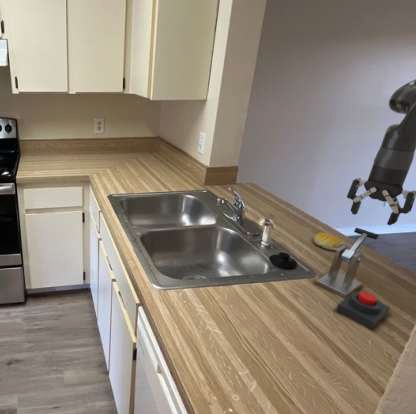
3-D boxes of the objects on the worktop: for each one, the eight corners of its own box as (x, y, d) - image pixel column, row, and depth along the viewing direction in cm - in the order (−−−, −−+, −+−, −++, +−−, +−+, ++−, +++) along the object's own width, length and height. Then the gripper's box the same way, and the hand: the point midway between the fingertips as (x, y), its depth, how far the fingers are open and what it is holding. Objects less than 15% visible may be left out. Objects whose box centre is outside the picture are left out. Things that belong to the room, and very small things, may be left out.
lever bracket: (331, 272, 104) (342, 240, 99) (360, 285, 98) (373, 251, 93) (315, 283, 99) (326, 249, 94) (345, 298, 93) (358, 262, 88)
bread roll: (322, 237, 125) (325, 228, 124) (346, 248, 118) (350, 238, 116) (307, 241, 123) (309, 231, 121) (330, 253, 115) (333, 243, 113)
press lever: (356, 230, 100) (357, 225, 99) (378, 238, 96) (379, 232, 95) (334, 257, 97) (334, 252, 96) (356, 266, 93) (356, 261, 91)
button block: (352, 297, 93) (357, 285, 92) (387, 313, 87) (392, 301, 86) (336, 310, 88) (340, 298, 87) (371, 329, 82) (377, 316, 80)
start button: (360, 295, 89) (363, 290, 88) (377, 302, 86) (379, 297, 85) (355, 300, 87) (357, 294, 86) (371, 308, 84) (373, 302, 83)
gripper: (431, 168, 85) (407, 225, 92) (366, 156, 96) (349, 207, 103) (421, 173, 81) (397, 231, 88) (354, 160, 92) (337, 213, 99)
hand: (371, 218), depth 95 cm, fingers open, 8 cm apart
